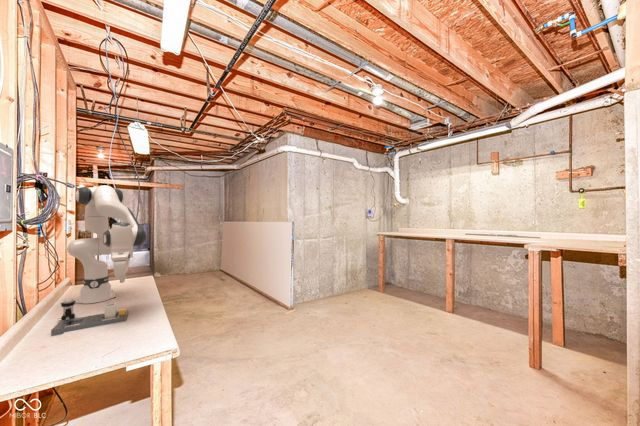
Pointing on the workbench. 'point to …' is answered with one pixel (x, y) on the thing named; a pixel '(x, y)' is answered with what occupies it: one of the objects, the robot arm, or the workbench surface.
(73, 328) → the panel
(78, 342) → the workbench surface
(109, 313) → the plug
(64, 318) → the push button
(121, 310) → the plate
